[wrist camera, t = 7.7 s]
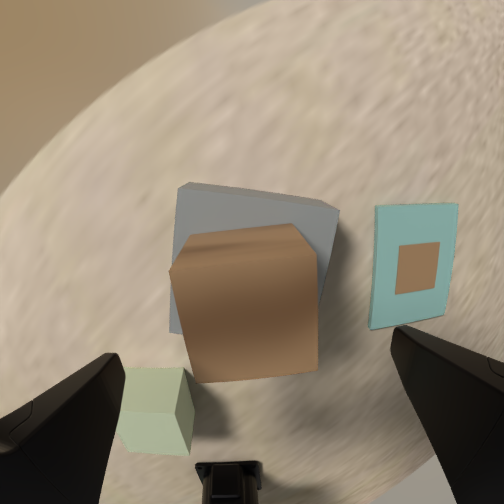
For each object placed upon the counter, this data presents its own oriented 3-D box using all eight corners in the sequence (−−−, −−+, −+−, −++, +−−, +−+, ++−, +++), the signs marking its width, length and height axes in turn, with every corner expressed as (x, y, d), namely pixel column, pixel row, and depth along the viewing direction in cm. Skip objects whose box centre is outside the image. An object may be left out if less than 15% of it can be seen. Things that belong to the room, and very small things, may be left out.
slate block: (296, 313, 21) (307, 346, 17) (180, 301, 20) (169, 332, 17) (319, 199, 19) (339, 210, 15) (190, 181, 18) (178, 188, 14)
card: (441, 311, 21) (444, 315, 21) (367, 326, 21) (370, 330, 21) (454, 202, 19) (459, 204, 18) (375, 205, 19) (378, 207, 18)
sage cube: (195, 410, 23) (189, 455, 19) (140, 409, 23) (127, 451, 18) (183, 366, 22) (174, 413, 17) (124, 366, 22) (104, 409, 17)
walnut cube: (297, 313, 16) (317, 370, 12) (206, 323, 16) (196, 383, 12) (292, 223, 15) (316, 254, 10) (190, 234, 15) (168, 271, 10)
